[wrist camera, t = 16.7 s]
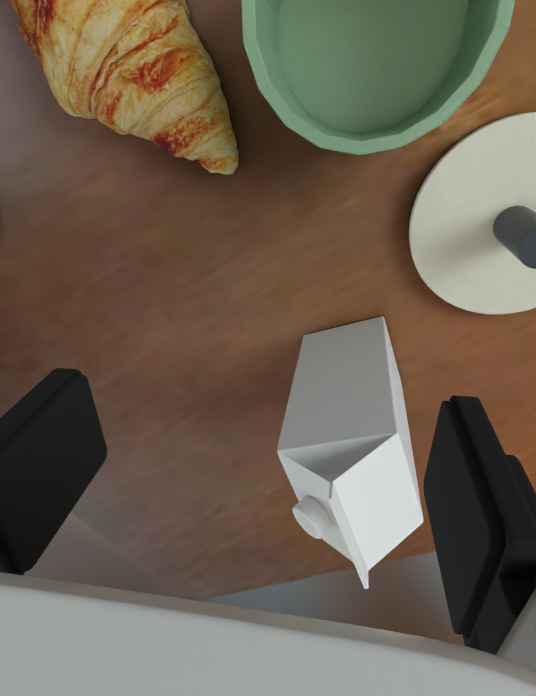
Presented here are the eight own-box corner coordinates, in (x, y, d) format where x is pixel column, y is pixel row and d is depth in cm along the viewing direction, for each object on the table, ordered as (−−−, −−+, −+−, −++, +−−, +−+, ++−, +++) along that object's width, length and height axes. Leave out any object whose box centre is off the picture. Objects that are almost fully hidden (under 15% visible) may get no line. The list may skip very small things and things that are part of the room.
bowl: (270, 145, 30) (247, 155, 24) (266, -101, 24) (233, -177, 18) (454, 144, 28) (482, 154, 22) (502, -127, 22) (563, -223, 16)
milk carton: (383, 314, 35) (406, 490, 19) (401, 383, 38) (434, 587, 22) (303, 333, 37) (261, 506, 21) (326, 397, 40) (305, 591, 24)
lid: (396, 303, 34) (404, 342, 29) (423, 113, 28) (441, 115, 22) (579, 312, 32) (628, 358, 26) (657, 108, 25) (746, 109, 20)
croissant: (274, 132, 33) (298, 89, 25) (189, 228, 33) (187, 215, 25) (43, -113, 28) (-16, -262, 20) (-56, 2, 28) (-152, -101, 20)
